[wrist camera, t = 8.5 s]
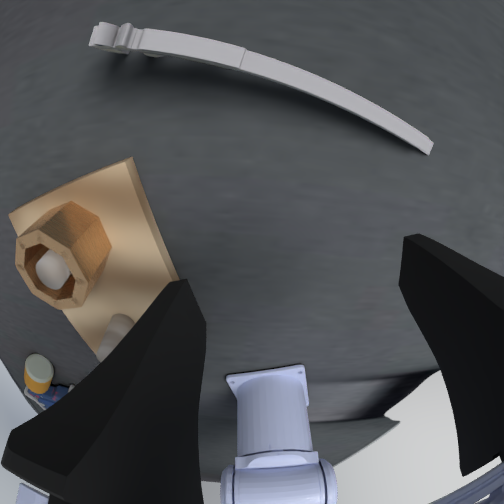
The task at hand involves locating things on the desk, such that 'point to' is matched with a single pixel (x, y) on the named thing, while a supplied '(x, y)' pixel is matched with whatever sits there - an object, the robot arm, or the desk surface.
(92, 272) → the ring
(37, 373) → the toy blaster gun
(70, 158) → the desk surface
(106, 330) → the wooden peg board
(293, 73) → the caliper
